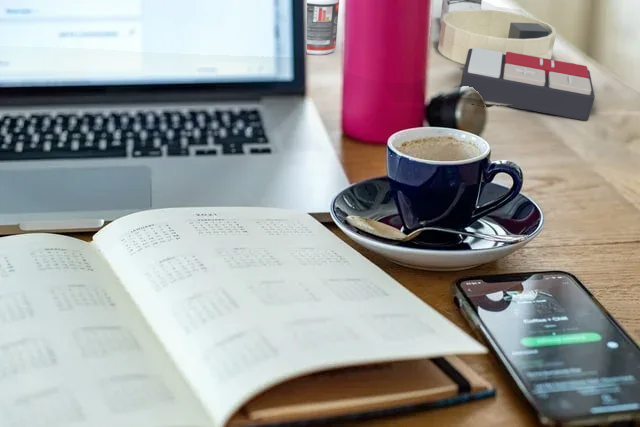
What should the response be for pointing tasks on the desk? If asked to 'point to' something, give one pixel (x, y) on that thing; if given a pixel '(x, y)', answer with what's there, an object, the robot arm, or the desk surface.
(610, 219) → the desk surface
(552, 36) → the bowl
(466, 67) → the grey switch panel
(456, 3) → the ink box
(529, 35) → the slate block
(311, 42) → the pill bottle
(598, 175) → the desk surface
